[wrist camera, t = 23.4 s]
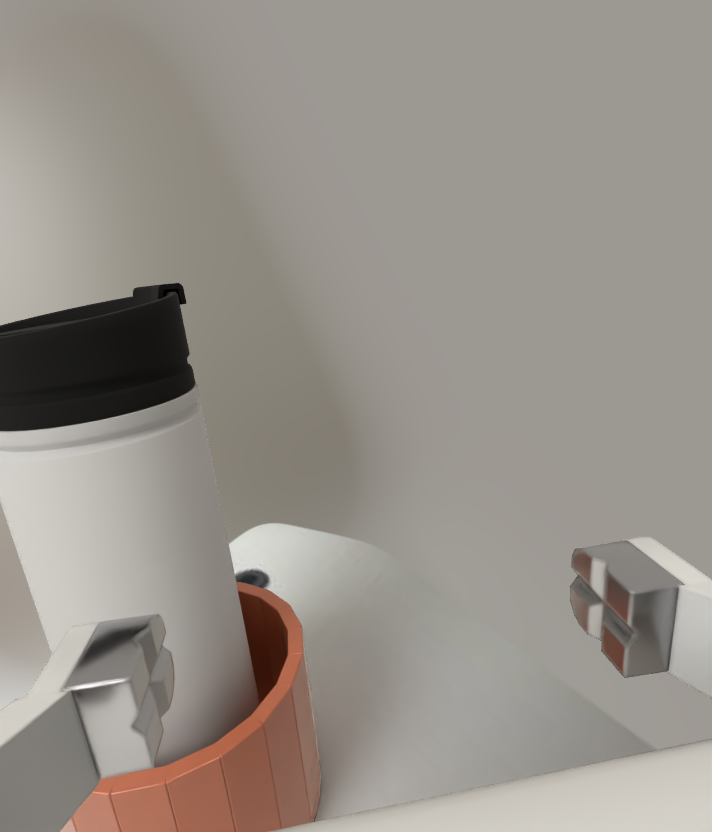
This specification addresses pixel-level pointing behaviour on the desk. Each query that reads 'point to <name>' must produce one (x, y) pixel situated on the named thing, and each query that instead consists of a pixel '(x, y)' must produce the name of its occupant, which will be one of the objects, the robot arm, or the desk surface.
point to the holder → (232, 751)
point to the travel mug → (124, 497)
